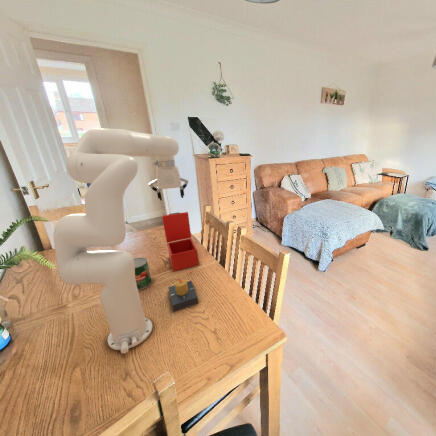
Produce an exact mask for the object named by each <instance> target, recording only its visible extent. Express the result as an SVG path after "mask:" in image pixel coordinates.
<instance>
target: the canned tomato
mask: <svg viewBox="0 0 436 436" xmlns="http://www.w3.org/2000/svg"><path fill="white" fill-rule="evenodd" d="M134 261H135V279H136V285H137V289H138V291H139V290H143V289H146V288H148V287H149V286H151V284H152V282H153V280H152V276H151V272H150V268H149V263H148V259H147V258H145V257H134Z"/></svg>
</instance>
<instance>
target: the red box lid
mask: <svg viewBox="0 0 436 436" xmlns="http://www.w3.org/2000/svg"><path fill="white" fill-rule="evenodd" d="M161 218H162V223H163V229H164V234H165V240H166V243H170V242H175V241H180V240H185V239H190V238H191V239H192V232H191V226H190V217H189V212H188V211H185V212H172V213H168V214H165V215H161Z"/></svg>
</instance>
